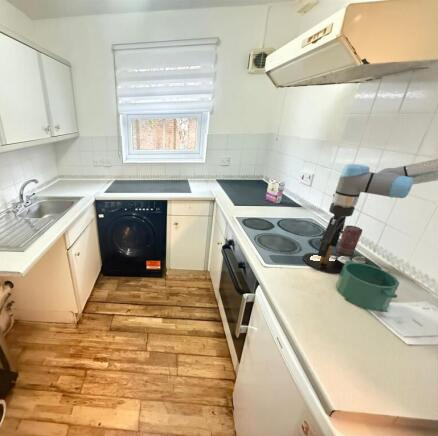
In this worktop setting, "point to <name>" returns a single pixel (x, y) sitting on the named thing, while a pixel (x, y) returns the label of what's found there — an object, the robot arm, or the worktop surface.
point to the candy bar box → (275, 191)
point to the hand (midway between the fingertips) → (326, 250)
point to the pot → (366, 285)
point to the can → (349, 240)
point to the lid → (324, 263)
